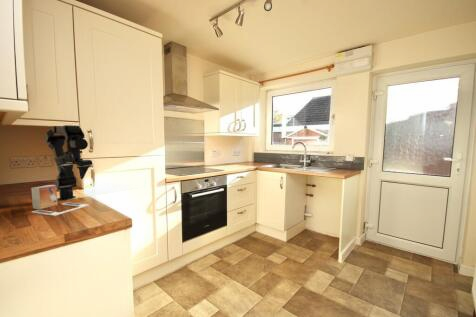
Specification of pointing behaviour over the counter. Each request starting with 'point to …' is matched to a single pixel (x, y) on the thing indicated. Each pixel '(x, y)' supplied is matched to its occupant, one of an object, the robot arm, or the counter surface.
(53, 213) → the bracket
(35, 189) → the small box
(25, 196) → the counter surface
